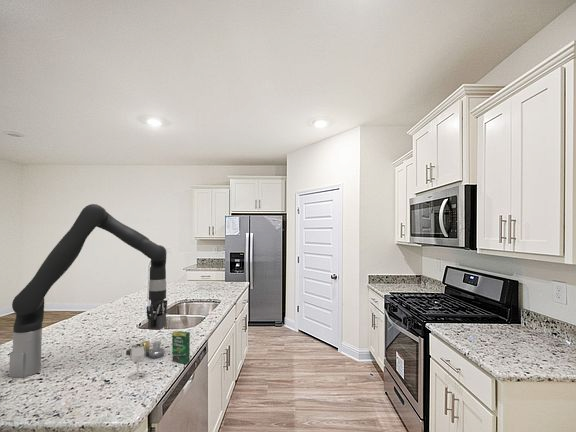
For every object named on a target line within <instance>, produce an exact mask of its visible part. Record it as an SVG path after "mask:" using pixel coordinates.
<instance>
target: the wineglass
mask: <svg viewBox="0 0 576 432" xmlns="http://www.w3.org/2000/svg"><path fill="white" fill-rule="evenodd" d="M130 349H131V352H130V355H129V358H130V361H131V362H134V363H136V373H135V374H133V375H132V376H131V379H133V380H136V379H141V378H143V377H144V374H143V373H139V367H140V363H141V362H142V361H144V360H145V358H146V348H145V345H144V344H141V343H136V344H133V345H132V346H131V348H130Z"/></svg>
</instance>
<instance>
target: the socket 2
mask: <svg viewBox="0 0 576 432" xmlns="http://www.w3.org/2000/svg"><path fill="white" fill-rule="evenodd" d="M166 326H167V312H166V313H158V314H157V316H156V327H155V328H151V320H150V319H147V330H150V331H151V330H153V331H160V330H162V329H163V328H165V327H166Z"/></svg>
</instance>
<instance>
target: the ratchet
mask: <svg viewBox="0 0 576 432" xmlns="http://www.w3.org/2000/svg"><path fill="white" fill-rule="evenodd" d="M130 352H131V348H129V349H127V350H125V356H130ZM164 355H165V349H164V348H162V347H161V340H154V341H153V342H152V349H149V350H146V356H145V358H146V357H148V358H149V359H151V360H157V359H162V358H163V357H164Z"/></svg>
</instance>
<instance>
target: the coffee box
mask: <svg viewBox="0 0 576 432" xmlns="http://www.w3.org/2000/svg"><path fill="white" fill-rule="evenodd" d="M171 333H172V334H171V338H172V339H171V341H172V343H171V344H172V345H171V349H172V350H171V351H172V352H171V354H172V358H171V359H172V360H171V361H172V362H174V363H179V364H183V365H188V364H189V363H190V361H191V360H190V358H191V357H190V356H191V355H190V354H191V352H190V351H191V350H190V349H191V347H190V346H191V344H190V343H191V339H190V338H191V335H190V334H191V333H190V332H189V331H182V330H174V331H172V332H171Z"/></svg>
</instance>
